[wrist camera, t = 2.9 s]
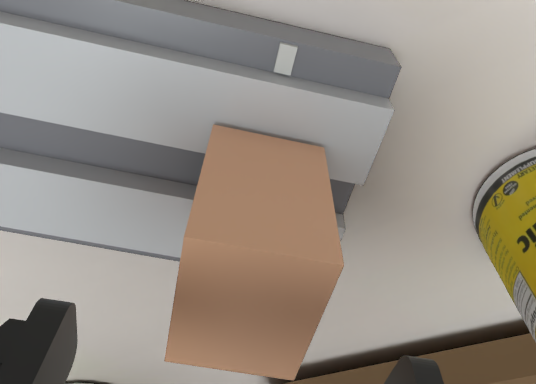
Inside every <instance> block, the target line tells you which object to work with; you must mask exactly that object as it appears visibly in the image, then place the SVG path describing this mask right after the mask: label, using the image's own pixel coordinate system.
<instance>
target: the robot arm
mask: <svg viewBox="0 0 536 384" xmlns="http://www.w3.org/2000/svg"><path fill="white" fill-rule="evenodd" d="M76 349H77V323H76V306H75V304H74V303H70V302H63V301H57V300H50V299H44V298H41V299H39V300H38V301H37V303H36V304H35V306H34V308H33V309H32V311H31V313H30V315H29V317H28V318H27V320H26V321H23V320H16V319H9V320H7V321H6V322H5V323H4V324H3V325H1V326H0V384H65V382H66V380H67V377H68V375H69V372H70V370H71V367H72V364H73V361H74V358H75V354H76ZM70 384H92V383H70ZM384 384H444V382H443V379H442V376H441V372H440V369H439V366H438V365H437V363H436V362H435V361H434V360H432V359H426V358H419V357H413V356H406V355H403V356H402V357H401V358H400V359H399V361H398V362H397V364H396V365H395V367H394V368H393V370H392V371H391V373H390V375H389V376H388V378H387V379H386V381H385V382H384Z"/></svg>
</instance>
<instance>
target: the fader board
mask: <svg viewBox="0 0 536 384" xmlns="http://www.w3.org/2000/svg"><path fill="white" fill-rule="evenodd" d="M400 69H401V65H400V64H399V62H398V61H397V59H396V57H395V56H394V54H393V53H392V51H391V50H390V49H388V48H384V47H380V46H376V45H371V44H367V43H363V42H359V41H354V40H350V39H346V38H342V37H338V36H333V35H329V34H325V33H321V32H316V31H312V30H308V29H304V28H300V27H295V26H291V25H287V24H283V23H278V22H274V21H270V20H266V19H261V18H257V17H253V16H249V15H245V14H240V13H236V12H232V11H228V10H223V9H219V8H215V7H211V6H207V5H202V4H198V3H194V2H190V1H185V0H0V230H2V231H8V232H13V233H19V234H25V235H30V236H36V237H42V238H48V239H53V240H59V241H65V242H71V243H76V244H82V245H88V246H94V247H99V248H105V249H111V250H116V251H122V252H128V253H134V254H139V255H145V256H151V257H157V258H162V259H168V260H174V261H180V258H181V252H182V246H183V239H184V234H185V230H186V227H187V223H188V219H189V215H190V211H191V207H192V204H193V200H194V196H195V192H196V188H197V184H198V181H199V177H200V173H201V169H202V165H203V161H204V157H205V154H206V150H207V146H208V142H209V138H210V134H211V131H212V127H213V124H214V125H219V126H223V127H228V128H233V129H238V130H243V131H247V132H252V133H257V134H262V135H267V136H271V137H276V138H281V139H286V140H291V141H295V142H300V143H305V144H310V145H315V146H319V147H324V148H325V154H326V160H327V166H328V172H329V178H330V184H331V190H332V196H333V202H334V208H335V214H336V220H337V226H338V232H339V238H340V241H341V239H342V236H343V234H344V232H345V229H346V228H345V223H344V218H343V212H344V210H345V207H346V205H347V202H348V200H349V197H350V195H351V192H352V190H353V187H354V185H355V184H359V185H364V183H365V181H366V178H367V176H368V173H369V171H370V169H371V166H372V164H373V161H374V159H375V157H376V154H377V152H378V149H379V147H380V144H381V142H382V140H383V137H384V135H385V132H386V130H387V127H388V125H389V123H390V120H391V118H392V115H393V113H394V111H395V110H394V108H393V106H392V104H391V102H390V100H389V97H390V95H391V92H392V90H393V87H394V85H395V82H396V80H397V77H398V75H399V72H400Z"/></svg>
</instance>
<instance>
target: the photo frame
mask: <svg viewBox="0 0 536 384" xmlns="http://www.w3.org/2000/svg"><path fill="white" fill-rule="evenodd" d="M416 357H419V358H426V359H432V360H434V361H435V362H436V363H437V365H438V366H439V369H440V372H441V376H442V379H443V382H444V384H536V342H535V340H534V339H533V337H532V335H531V333H529V334H524V335H519V336H514V337H510V338H505V339H500V340H495V341H490V342H485V343H480V344H475V345H470V346H465V347H460V348H455V349H451V350H446V351H441V352H436V353H431V354H426V355H421V356H416ZM398 361H399V360H396V361H392V362H387V363H382V364H377V365H372V366H367V367H362V368H357V369H352V370H347V371H342V372H337V373H333V374H328V375H323V376H318V377H313V378H308V379H303V380H298V381H293V382H288V383H283V384H384V382H385V381H386V379H387V378H388V376H389V375H390V373H391V371H392V370H393V368H394V367H395V365H396V364H397V362H398Z"/></svg>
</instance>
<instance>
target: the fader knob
mask: <svg viewBox="0 0 536 384" xmlns="http://www.w3.org/2000/svg"><path fill="white" fill-rule="evenodd" d="M343 267H344V262H343V256H342V250H341V244H340V238H339V232H338V226H337V220H336V214H335V208H334V202H333V196H332V190H331V184H330V178H329V172H328V166H327V160H326V154H325V148H324V147H319V146H315V145H310V144H305V143H300V142H295V141H291V140H286V139H281V138H276V137H271V136H267V135H262V134H257V133H252V132H247V131H243V130H238V129H233V128H228V127H223V126H219V125H214V124H213V127H212V131H211V134H210V138H209V142H208V146H207V150H206V154H205V157H204V161H203V165H202V169H201V173H200V177H199V181H198V184H197V188H196V192H195V196H194V200H193V204H192V207H191V211H190V215H189V219H188V223H187V227H186V230H185V234H184V239H183V246H182V252H181V258H180V265H179V271H178V277H177V284H176V290H175V297H174V303H173V309H172V316H171V322H170V329H169V335H168V341H167V348H166V354H165V361H166V362H173V363H179V364H186V365H193V366H199V367H206V368H213V369H219V370H226V371H233V372H239V373H246V374H252V375H259V376H266V377H272V378H279V379H286V380H292V381H294V379H295V377H296V375H297V372H298V370H299V368H300V365H301V363H302V361H303V359H304V356H305V354H306V352H307V349H308V347H309V345H310V342H311V340H312V338H313V336H314V333H315V331H316V329H317V326H318V324H319V322H320V320H321V317H322V315H323V313H324V310H325V308H326V306H327V303H328V301H329V299H330V297H331V294H332V292H333V290H334V287H335V285H336V283H337V281H338V278H339V276H340V274H341V271H342V269H343Z"/></svg>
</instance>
